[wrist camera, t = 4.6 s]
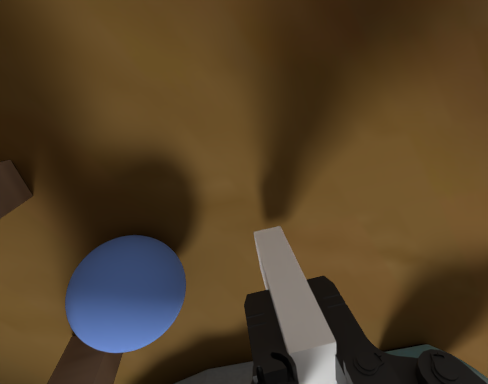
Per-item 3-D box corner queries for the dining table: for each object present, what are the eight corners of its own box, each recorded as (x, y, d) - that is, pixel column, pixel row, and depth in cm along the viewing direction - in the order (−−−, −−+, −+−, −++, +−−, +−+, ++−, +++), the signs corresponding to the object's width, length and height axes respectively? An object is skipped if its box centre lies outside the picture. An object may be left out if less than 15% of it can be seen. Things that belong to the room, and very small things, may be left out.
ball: (180, 377, 11) (204, 283, 16) (142, 291, 9) (183, 210, 14) (70, 380, 12) (125, 288, 17) (4, 300, 9) (91, 220, 14)
